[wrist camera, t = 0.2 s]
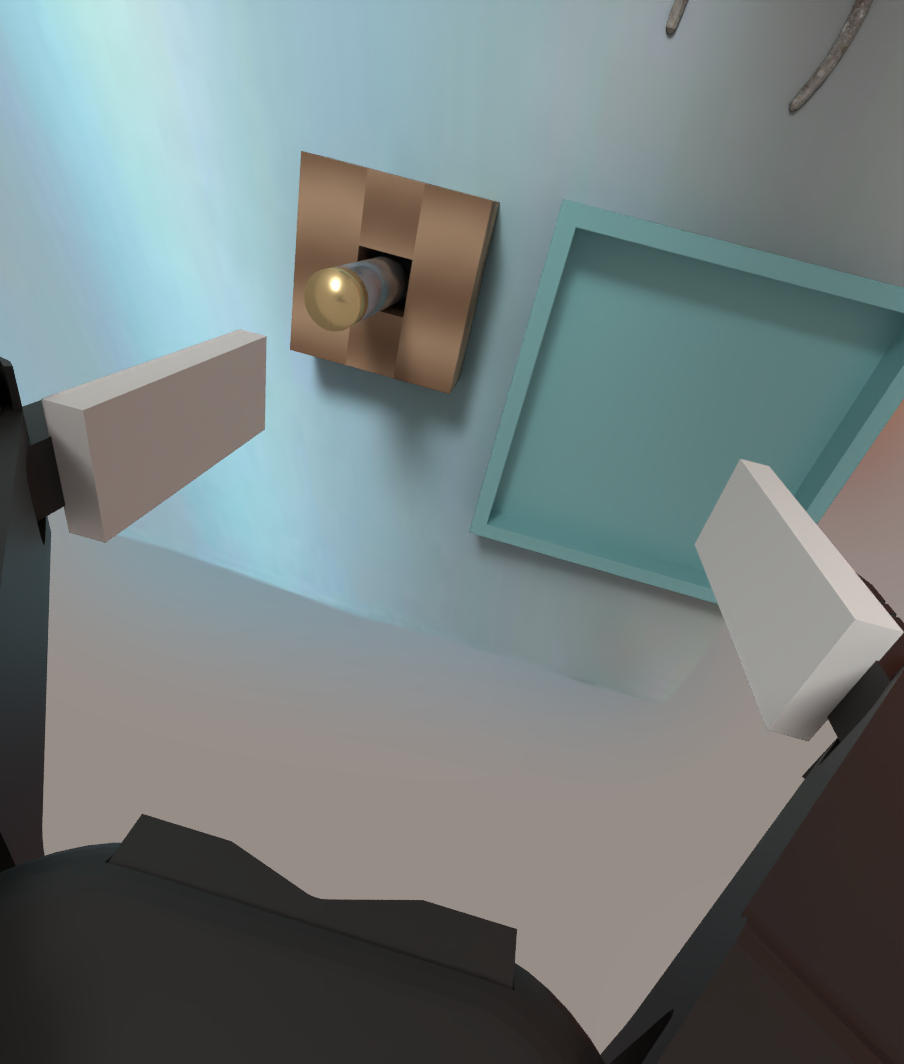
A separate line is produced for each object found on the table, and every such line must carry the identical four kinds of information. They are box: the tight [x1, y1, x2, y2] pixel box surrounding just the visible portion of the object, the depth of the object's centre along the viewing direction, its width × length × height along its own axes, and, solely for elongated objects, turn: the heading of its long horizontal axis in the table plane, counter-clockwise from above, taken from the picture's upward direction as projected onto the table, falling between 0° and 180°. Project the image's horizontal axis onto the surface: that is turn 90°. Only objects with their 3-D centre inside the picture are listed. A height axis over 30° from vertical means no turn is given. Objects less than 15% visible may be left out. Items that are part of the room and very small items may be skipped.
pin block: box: [290, 151, 500, 394], centre depth 37 cm, size 12×12×4 cm
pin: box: [304, 254, 412, 332], centre depth 34 cm, size 3×3×13 cm
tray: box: [469, 199, 904, 604], centre depth 39 cm, size 24×24×4 cm
